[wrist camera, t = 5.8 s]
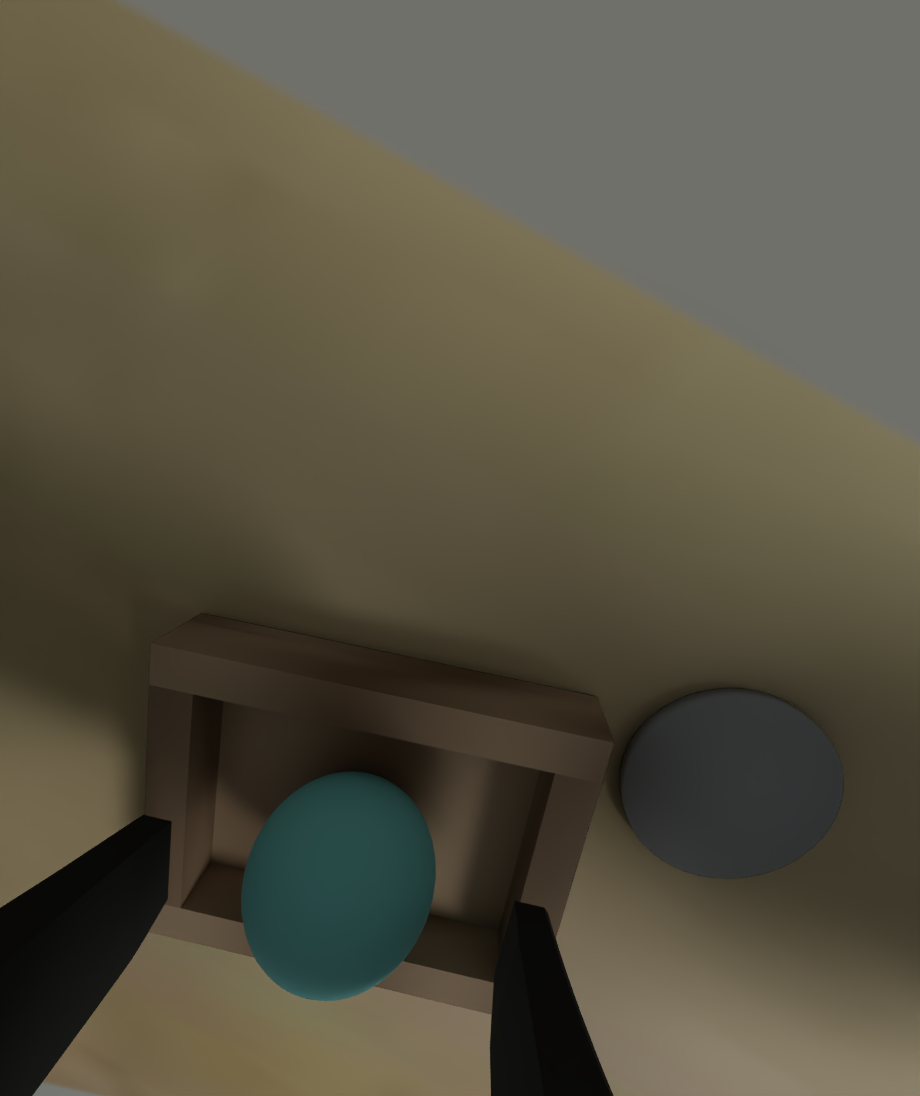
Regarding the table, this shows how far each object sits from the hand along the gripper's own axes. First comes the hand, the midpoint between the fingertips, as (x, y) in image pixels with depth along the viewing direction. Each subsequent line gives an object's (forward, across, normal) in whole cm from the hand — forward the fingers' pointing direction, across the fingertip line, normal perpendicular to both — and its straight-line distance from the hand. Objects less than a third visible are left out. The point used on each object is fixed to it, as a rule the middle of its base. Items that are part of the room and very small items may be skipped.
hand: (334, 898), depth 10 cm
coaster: (+3, -8, -2) cm, 9 cm away
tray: (+3, 0, 0) cm, 3 cm away
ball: (+3, 0, 0) cm, 3 cm away
